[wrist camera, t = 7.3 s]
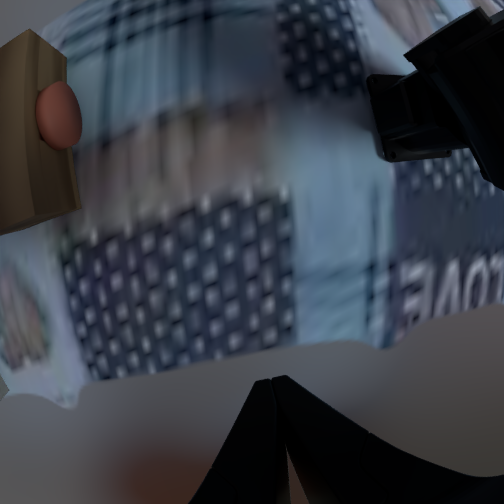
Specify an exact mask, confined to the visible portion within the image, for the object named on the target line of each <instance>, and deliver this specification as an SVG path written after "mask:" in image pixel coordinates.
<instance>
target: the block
mask: <svg viewBox="0 0 504 504" xmlns="http://www.w3.org/2000/svg"><path fill="white" fill-rule="evenodd" d="M66 60H67V58H66V57H65V56H64V55H63V54H61V53H60V52H59V51H58V50H56V49H55V48H54V47H53V46H51V45H50V44H49V43H48V42H46V41H45V40H44V39H42V38H41V37H40V36H39V35H37V34H36V33H35V32H33V31H32V30H31V29H28V30H26V31H25V32H23V33H21V34H20V35H18V36H17V37H16V38H14V39H12V40H11V41H9V42H8V43H7V44H5V45H4V46H2V47H1V48H0V235H4V234H8V233H12V232H16V231H20V230H23V229H26V228H28V227H31V226H33V225H36V224H39V223H41V222H44V221H47V220H49V219H52V218H55V217H58V216H61V215H63V214H66V213H69V212H72V211H75V210H78V209H81V203H80V198H79V192H78V187H77V181H76V175H75V169H74V162H73V155H72V147H71V146H70V147H67V148H65V149H63V150H55V149H53V148H51V147H50V146H49V145H48V144H47V143H46V141H41V140H39V127H38V124H37V119H36V101H37V97H38V95H39V93H40V92H41V90H42V89H44V88H46V87H48V86H50V85H52V84H54V83H56V82H58V81H62V82H65V83H66V84H67V73H66Z"/></svg>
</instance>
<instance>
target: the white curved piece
mask: <svg viewBox="0 0 504 504" xmlns="http://www.w3.org/2000/svg"><path fill="white" fill-rule="evenodd" d="M8 391H9V389H8V387H7V385H6V383H5V382H4V380H3V378H2V376H1V374H0V401H1V399H2V398H3V397H4V396H5V395H6V394H7V392H8Z"/></svg>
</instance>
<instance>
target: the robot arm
mask: <svg viewBox="0 0 504 504" xmlns="http://www.w3.org/2000/svg"><path fill="white" fill-rule="evenodd" d="M403 56H404V57H405V58H406V59H407V60H408V61H409V62H411V63H412V64H413V65H414V66H415V68H416V69H417V70H415V71H414V72H412V73H410V74H408V75H406V76H400V75H380V74H372V75H370V76H368V77H367V79H366V82H367V86H368V89H369V93H370V96H371V100H370V101H371V105H372V109H373V113H374V117H375V121H376V125H377V129H378V133H379V134H380V137H381V141H382V146H383V151H384V156H385V159H386V160H387V161H388V162H390V163H393V162H402V161H411V160H422V159H433V158H445V157H450V156H451V154H452V150H455V149H463V148H470V150H471V152H472V154H473V156H474V158H475V160H476V162H477V164H478V166H479V168H480V173H481V175H482V177H483V179H484V180H487V181H489V182H491V183H493V185H494V186H496V187H498V188H500V189H501V190H503V191H504V10H502V11H500V12H498V13H496V14H494V15H492V16H490V17H488V16H487V14H486V13H485V12H484V10H483V9H482V8H481V7H480V6H479V7H477V8H475V9H473V10H471V11H469V12H467V13H465V14H463V15H461V16H459V17H458V18H456V19H455V20H453V21H451V22H450V23H448V24H447V25H445V26H444V27H442V28H440V29H439V30H437V31H436V32H435V33H433V34H432V35H430V36H429V37H427V38H426V39H425V40H423V41H422V42H420V43H419V44H418V45H416V46H415V47H413V48H412V49H411V50H409V51H408V52H407V53H405V54H404V55H403ZM372 79H373V80H374V81H375V83H373V82H372ZM445 151H446V152H445ZM390 153H392V154H393V158H391V156H390ZM284 440H285V441H284ZM285 445H286V446H285ZM286 448H287V451H286ZM287 452H288V454H289V457H290V460H291V462H292V464H293V467H294V469H295V472H296V474H297V476H298V479H299V481H300V483H301V486H302V488H303V491H304V493H305V495H306V497H307V500H308V502H309V504H504V475H499V476H492V477H478V476H471V475H466V474H463V473H460V472H457V471H454V470H451V469H448V468H445V467H442V466H439V465H437V464H434V463H431V462H429V461H426V460H423V459H421V458H418V457H416V456H414V455H412V454H409V453H407V452H405V451H402V450H400V449H398V448H396V447H395V446H393V445H391V444H389V443H387V442H386V441H384V440H382V439H380V438H379V437H377V436H375V435H374V434H372V433H369V431H367V430H366V429H364V428H363V427H361V426H359V425H358V424H357V423H355V422H353V421H352V420H350V419H349V418H347V417H346V416H344V415H343V414H341V413H340V412H338V411H337V410H335V409H334V408H332V407H331V406H330V405H328V404H327V403H325V402H324V401H322V400H321V399H319V398H318V397H316V396H315V395H314V394H312V393H311V392H309V391H308V390H307V389H305V388H304V387H302V386H301V385H300V384H298V383H297V382H295V381H294V380H293V379H291V378H290V377H289V376H287V375H282V376H278V377H273V378H272V379H271V380H270V379H264V380H259V381H256V382H255V383H254V385H253V387H252V389H251V391H250V393H249V395H248V397H247V399H246V401H245V403H244V405H243V407H242V409H241V411H240V413H239V415H238V417H237V419H236V421H235V423H234V425H233V427H232V429H231V431H230V433H229V435H228V436H227V438H226V440H225V442H224V444H223V446H222V448H221V449H220V452H219V453H218V455H217V457H216V459H215V461H214V463H213V464H212V466H211V467H212V468H211V469H209V471H208V473H207V475H206V477H205V479H204V480H203V482H202V484H201V485H200V487H199V488H198V490H197V491H196V493H195V495H194V496H193V497H192V499H191V500H190V501H189V503H188V504H291V497H290V484H289V471H288V459H287Z"/></svg>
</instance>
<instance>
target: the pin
mask: <svg viewBox="0 0 504 504" xmlns="http://www.w3.org/2000/svg"><path fill="white" fill-rule="evenodd" d="M36 119H37V124H38V127H39V140H41V141H46V143H47V144H48V145H49V146H50V147H51V148H53V149H55V150H63V149H65V148H67V147H70V146H72V145H75V144H76V143H77V142H78V141H79V139H80V137H81V133H82V117H81V111H80V107H79V104H78V101H77V98H76V96H75V94H74V92H73V91H72V89H71V88H70V87H69V86H68V85H67V84H66V83H65V82H62V81H58V82H56V83H54V84H52V85H50V86H48V87H46V88H44V89H42V90H41V92H40V93H39V95H38V97H37V101H36Z"/></svg>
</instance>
